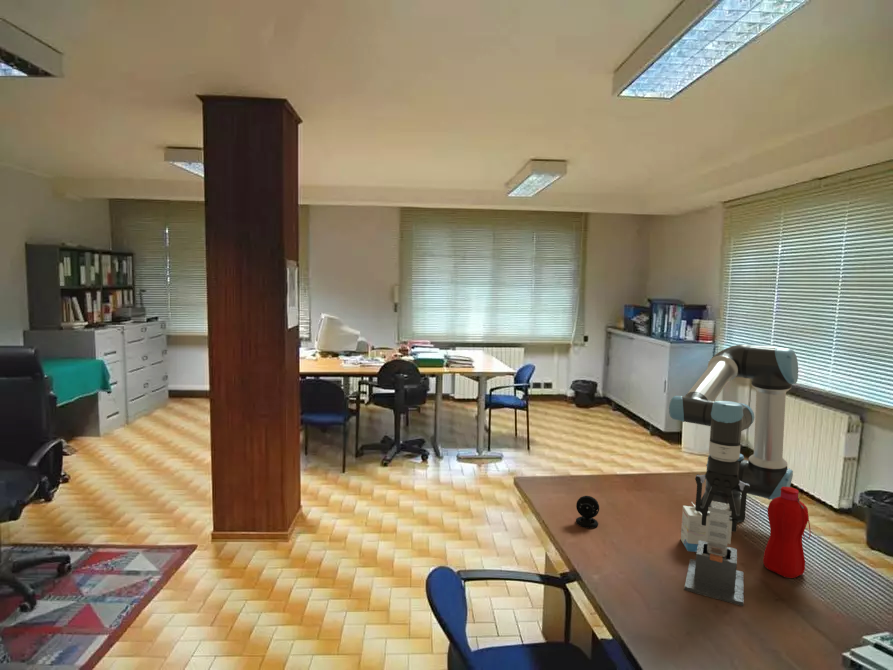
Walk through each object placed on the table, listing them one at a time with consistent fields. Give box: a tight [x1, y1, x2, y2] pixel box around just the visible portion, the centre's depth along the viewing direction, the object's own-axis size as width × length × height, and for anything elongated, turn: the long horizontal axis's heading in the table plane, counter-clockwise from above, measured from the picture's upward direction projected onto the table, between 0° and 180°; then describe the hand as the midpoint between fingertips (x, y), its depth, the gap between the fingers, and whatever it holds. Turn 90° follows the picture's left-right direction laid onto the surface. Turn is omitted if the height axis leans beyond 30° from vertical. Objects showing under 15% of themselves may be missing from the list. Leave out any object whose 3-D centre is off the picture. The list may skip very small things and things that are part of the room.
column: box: [707, 501, 732, 559], centre depth 146 cm, size 6×6×19 cm
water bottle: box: [762, 486, 812, 579], centre depth 153 cm, size 9×11×25 cm
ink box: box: [680, 502, 710, 553], centre depth 168 cm, size 9×8×13 cm
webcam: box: [575, 495, 600, 529], centre depth 183 cm, size 8×8×10 cm
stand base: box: [683, 540, 745, 607], centre depth 147 cm, size 18×14×10 cm
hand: (717, 539), depth 146 cm, fingers closed on column, 5 cm apart
